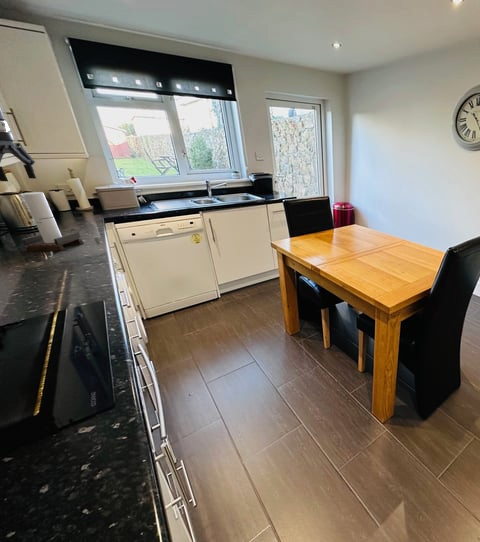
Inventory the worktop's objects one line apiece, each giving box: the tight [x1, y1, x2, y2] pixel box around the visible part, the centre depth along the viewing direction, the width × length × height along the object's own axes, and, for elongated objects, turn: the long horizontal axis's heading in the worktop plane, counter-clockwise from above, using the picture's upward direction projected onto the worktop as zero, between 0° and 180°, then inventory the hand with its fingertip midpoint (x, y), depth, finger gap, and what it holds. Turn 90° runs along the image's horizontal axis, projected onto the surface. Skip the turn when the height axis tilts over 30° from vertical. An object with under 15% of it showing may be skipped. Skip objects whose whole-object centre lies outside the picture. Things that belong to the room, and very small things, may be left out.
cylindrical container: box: [22, 191, 63, 243], centre depth 145 cm, size 7×7×25 cm
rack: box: [21, 231, 84, 253], centre depth 151 cm, size 16×14×7 cm
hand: (19, 179), depth 136 cm, fingers open, 13 cm apart
